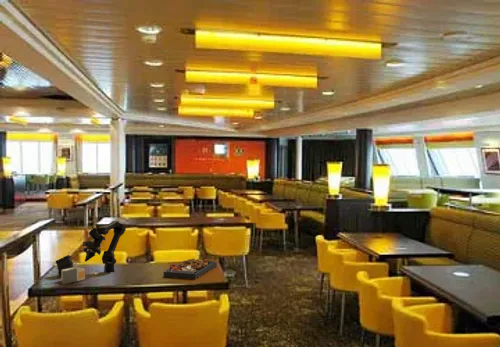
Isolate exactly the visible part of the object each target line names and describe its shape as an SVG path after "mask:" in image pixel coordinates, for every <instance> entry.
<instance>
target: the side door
mask: <svg viewBox="0 0 500 347" xmlns="http://www.w3.org/2000/svg"><path fill="white" fill-rule="evenodd" d="M78 267H79V264H76V263H73V269H71V270H67V271H62V276H61V284H62V285H66V284H71V283H74V282H75V283H76V282H78V281H77V269H78Z"/></svg>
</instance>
